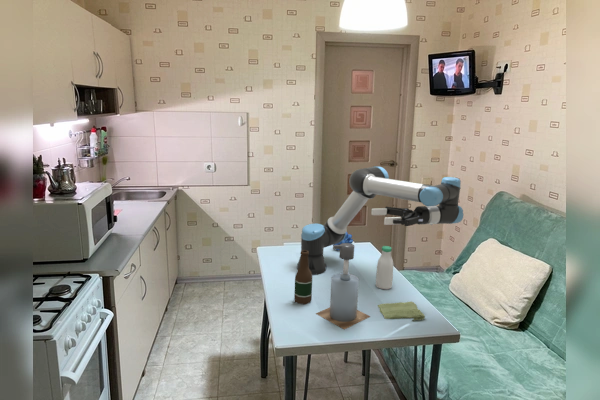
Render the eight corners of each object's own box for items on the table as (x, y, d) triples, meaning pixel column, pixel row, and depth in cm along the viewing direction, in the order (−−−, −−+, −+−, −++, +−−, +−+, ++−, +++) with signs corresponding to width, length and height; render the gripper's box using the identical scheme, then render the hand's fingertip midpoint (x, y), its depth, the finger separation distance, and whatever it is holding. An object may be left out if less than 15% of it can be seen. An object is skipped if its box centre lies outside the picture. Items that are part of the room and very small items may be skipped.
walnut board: (315, 316, 174) (315, 313, 174) (341, 304, 185) (341, 302, 185) (344, 332, 163) (344, 329, 163) (370, 319, 174) (370, 316, 173)
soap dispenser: (324, 313, 174) (326, 273, 170) (342, 305, 181) (344, 266, 177) (343, 324, 166) (346, 282, 162) (362, 316, 173) (364, 275, 169)
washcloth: (375, 308, 184) (375, 301, 183) (413, 306, 186) (414, 300, 185) (384, 323, 171) (385, 316, 170) (426, 322, 174) (427, 314, 173)
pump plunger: (330, 274, 168) (332, 245, 166) (344, 269, 174) (345, 241, 171) (342, 279, 164) (343, 249, 161) (355, 274, 169) (357, 245, 166)
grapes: (351, 249, 255) (352, 229, 252) (352, 252, 248) (354, 233, 245) (332, 248, 255) (333, 229, 252) (332, 252, 248) (333, 232, 245)
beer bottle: (305, 308, 180) (307, 255, 175) (290, 303, 184) (292, 251, 179) (314, 301, 187) (317, 250, 181) (300, 297, 191) (301, 246, 185)
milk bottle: (391, 290, 200) (395, 250, 196) (375, 288, 202) (378, 249, 197) (391, 283, 208) (395, 245, 203) (375, 282, 209) (378, 243, 204)
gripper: (440, 233, 164) (389, 235, 160) (411, 215, 188) (366, 216, 184) (442, 214, 163) (391, 215, 158) (413, 199, 186) (367, 200, 182)
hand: (377, 216), depth 171 cm, fingers open, 13 cm apart
